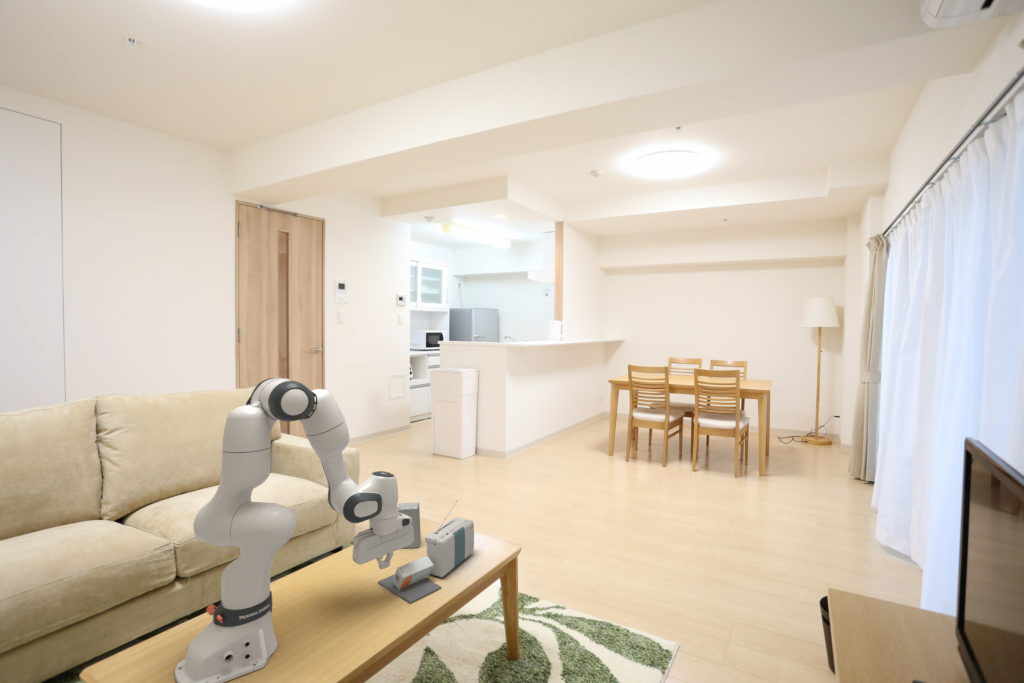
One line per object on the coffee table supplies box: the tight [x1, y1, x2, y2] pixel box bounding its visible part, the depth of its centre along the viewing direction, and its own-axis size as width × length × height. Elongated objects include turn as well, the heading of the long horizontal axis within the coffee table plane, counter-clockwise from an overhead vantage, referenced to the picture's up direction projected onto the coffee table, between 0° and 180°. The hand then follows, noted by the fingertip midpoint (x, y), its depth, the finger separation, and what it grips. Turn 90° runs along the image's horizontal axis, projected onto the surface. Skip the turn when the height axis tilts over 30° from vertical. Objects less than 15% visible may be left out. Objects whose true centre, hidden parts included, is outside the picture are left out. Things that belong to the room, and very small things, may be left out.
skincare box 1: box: [397, 502, 422, 550], centre depth 191 cm, size 8×7×16 cm
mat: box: [377, 573, 442, 605], centre depth 161 cm, size 12×18×1 cm, turn 48°
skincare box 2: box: [393, 555, 434, 590], centre depth 161 cm, size 6×4×12 cm
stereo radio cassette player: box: [424, 500, 475, 579], centre depth 175 cm, size 21×8×20 cm, turn 154°
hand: (384, 567), depth 154 cm, fingers closed
